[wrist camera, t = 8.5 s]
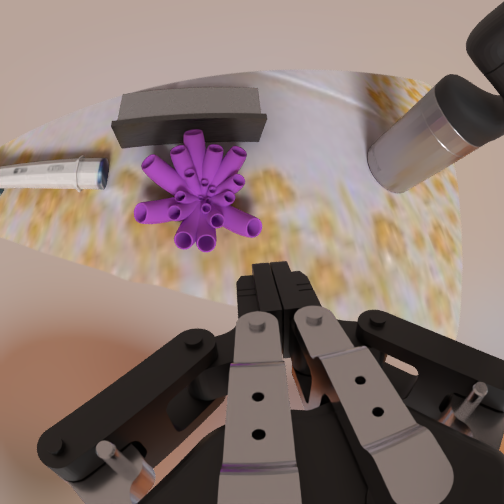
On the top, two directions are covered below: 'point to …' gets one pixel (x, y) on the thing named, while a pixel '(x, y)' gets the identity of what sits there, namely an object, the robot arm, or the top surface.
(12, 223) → the top surface
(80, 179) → the white handheld device
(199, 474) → the robot arm
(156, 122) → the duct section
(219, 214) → the purple tube coral
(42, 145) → the top surface
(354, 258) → the top surface
